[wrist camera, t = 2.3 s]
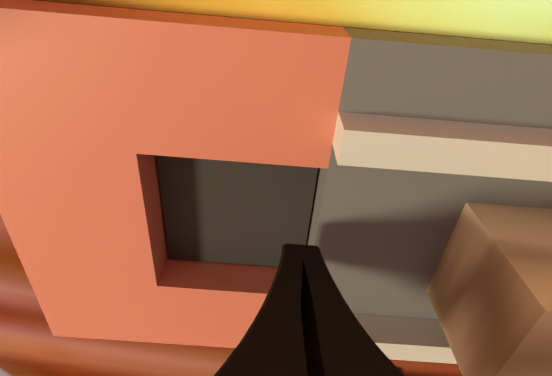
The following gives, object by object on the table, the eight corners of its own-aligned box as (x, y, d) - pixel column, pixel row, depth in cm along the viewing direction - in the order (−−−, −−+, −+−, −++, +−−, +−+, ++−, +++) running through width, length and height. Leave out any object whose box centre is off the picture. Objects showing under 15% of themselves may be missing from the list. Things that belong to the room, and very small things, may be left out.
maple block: (533, 297, 17) (616, 414, 12) (426, 290, 16) (474, 404, 12) (593, 212, 14) (727, 323, 10) (465, 202, 14) (545, 310, 10)
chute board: (771, 353, 22) (847, 416, 19) (72, 305, 21) (36, 362, 18) (1140, 95, 13) (1394, 136, 10) (-40, -6, 12) (-146, 5, 9)
